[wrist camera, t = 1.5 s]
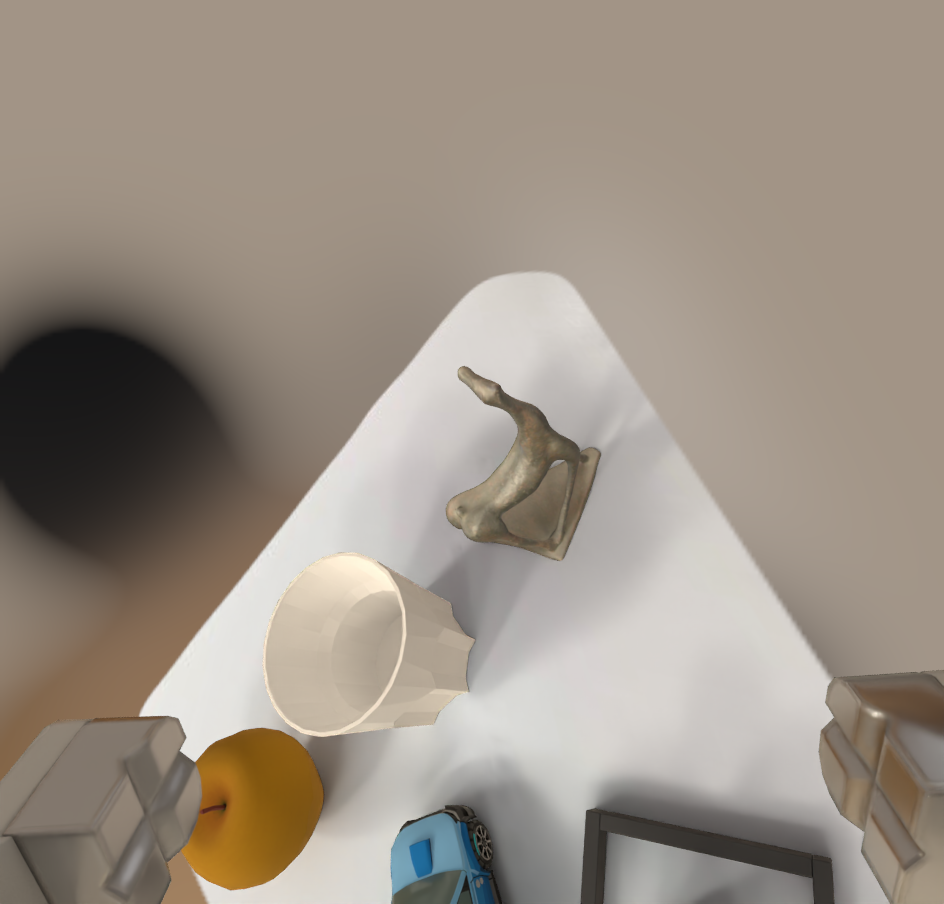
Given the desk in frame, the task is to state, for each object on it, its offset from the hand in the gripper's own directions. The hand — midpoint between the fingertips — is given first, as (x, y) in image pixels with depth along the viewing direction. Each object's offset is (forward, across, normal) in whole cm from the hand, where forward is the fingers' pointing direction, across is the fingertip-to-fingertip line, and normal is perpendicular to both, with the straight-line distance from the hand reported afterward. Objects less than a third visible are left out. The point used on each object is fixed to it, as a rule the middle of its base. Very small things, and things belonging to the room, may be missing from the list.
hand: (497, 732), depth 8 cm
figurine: (+33, -2, +16) cm, 36 cm away
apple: (+25, +16, +32) cm, 44 cm away
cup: (+29, +7, +24) cm, 38 cm away
